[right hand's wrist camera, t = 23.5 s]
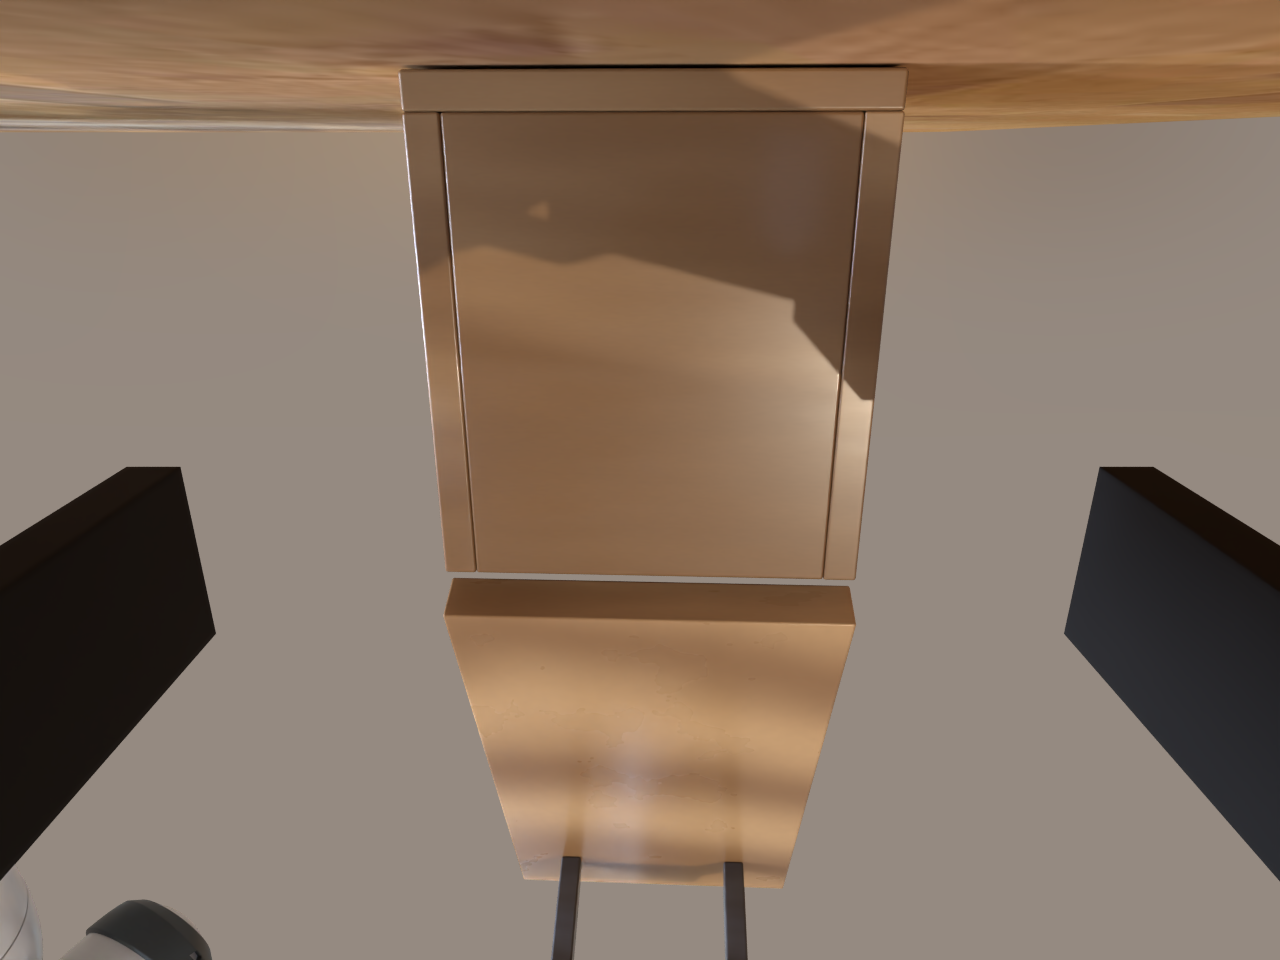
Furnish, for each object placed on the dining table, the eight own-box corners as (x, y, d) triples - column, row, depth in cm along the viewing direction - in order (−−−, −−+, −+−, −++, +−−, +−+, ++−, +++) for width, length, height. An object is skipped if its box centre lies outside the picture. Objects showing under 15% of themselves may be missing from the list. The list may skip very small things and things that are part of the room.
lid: (780, 856, 33) (801, 1126, 27) (527, 848, 33) (492, 1112, 27) (849, 585, 21) (914, 964, 15) (452, 577, 21) (360, 943, 15)
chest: (798, 104, 31) (780, 394, 35) (531, 105, 31) (543, 392, 35) (910, 66, 16) (855, 580, 20) (396, 69, 16) (444, 572, 20)
